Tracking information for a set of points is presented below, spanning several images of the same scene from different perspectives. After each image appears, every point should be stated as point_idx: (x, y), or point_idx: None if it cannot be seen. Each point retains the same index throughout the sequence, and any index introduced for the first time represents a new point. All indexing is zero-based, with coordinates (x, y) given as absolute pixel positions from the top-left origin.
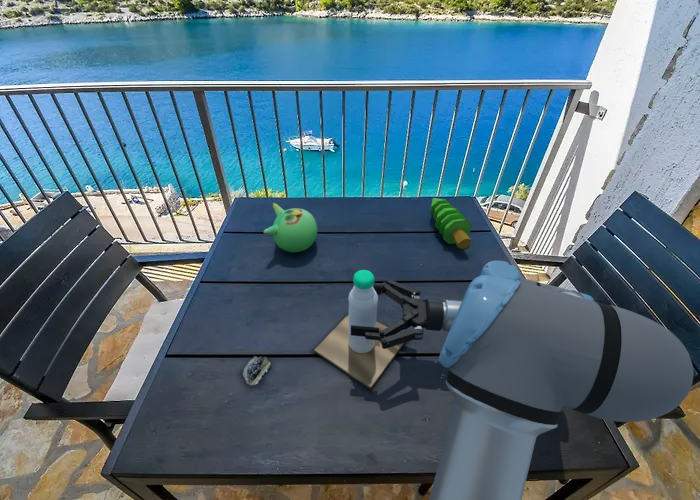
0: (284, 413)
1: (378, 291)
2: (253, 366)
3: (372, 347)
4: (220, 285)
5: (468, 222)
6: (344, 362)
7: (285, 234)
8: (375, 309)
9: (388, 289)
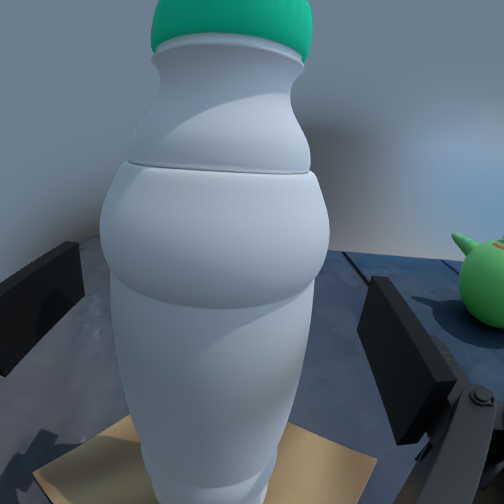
0: (66, 326)
1: (405, 403)
2: None
3: None
4: (345, 263)
5: None
6: (135, 431)
7: (476, 255)
8: (139, 328)
9: (446, 439)
